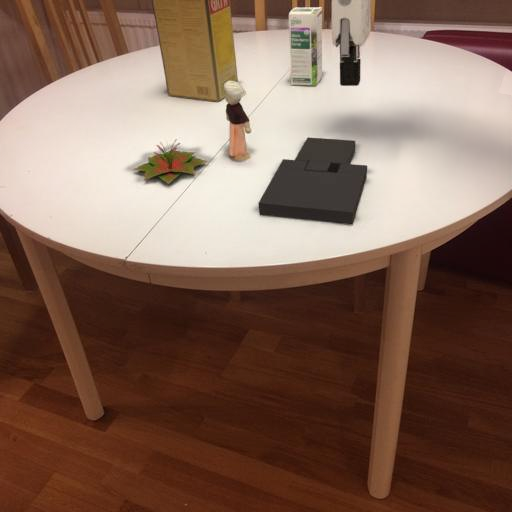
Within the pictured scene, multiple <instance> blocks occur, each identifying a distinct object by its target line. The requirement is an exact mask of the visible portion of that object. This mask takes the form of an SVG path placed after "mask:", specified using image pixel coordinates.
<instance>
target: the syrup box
mask: <svg viewBox="0 0 512 512" xmlns="http://www.w3.org/2000/svg"><path fill="white" fill-rule="evenodd" d="M288 37H289V54H290V55H289V57H290V85H291V86H313V87H317V85H318V84H319V83H320V81H321V79H322V77H323V7H322V6H318V7H317V6H316V7H299V6H297V7H296V6H295V7H294V8H292V9H291V10H290V11H289V13H288Z"/></svg>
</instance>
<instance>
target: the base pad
mask: <svg viewBox="0 0 512 512" xmlns="http://www.w3.org/2000/svg"><path fill="white" fill-rule="evenodd" d="M307 164H308V161H301V160H295V159H287V158H284V159H282V160H281V162H280V164H279V166H278V167H277V169H276V171H275V173H274V174H273V176H272V178H271V179H270V182H269V183H268V185H267V186H266V189H265V190H264V192H263V194H262V196H261V197H260V199H259V201H258V202H257V203H258V213H259V216H266V217H275V218H285V219H294V220H303V221H314V222H322V223H331V224H332V223H334V224H340V225H341V224H342V225H354V222H355V219H356V215H357V211H358V208H359V204H360V201H361V197H362V194H363V192H364V188H365V184H366V180H367V177H368V165H367V164H353V163H350V164H340V167H339V169H338V172H337V173H331V172H318V171H305V168H306V166H307Z"/></svg>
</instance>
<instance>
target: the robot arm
mask: <svg viewBox="0 0 512 512" xmlns="http://www.w3.org/2000/svg"><path fill="white" fill-rule="evenodd" d="M371 18H372V16H371V0H331V39H332V40H331V41H332V45H333V46H334V47H335V48H338V47H339V85H340V86H342V87H358V86H359V85H360V82H361V63H362V62H361V58H360V57H361V47H363V46H364V45H365V44H366V42H367V40H368V38H369V36H370V34H371V31H372V30H371V29H372V21H371V20H372V19H371Z"/></svg>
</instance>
